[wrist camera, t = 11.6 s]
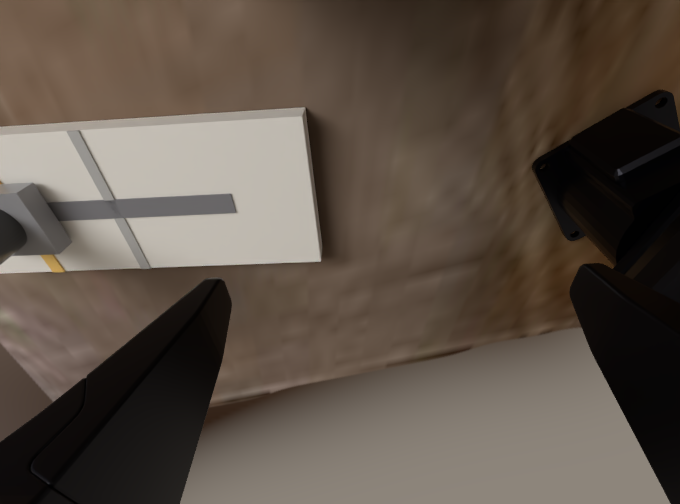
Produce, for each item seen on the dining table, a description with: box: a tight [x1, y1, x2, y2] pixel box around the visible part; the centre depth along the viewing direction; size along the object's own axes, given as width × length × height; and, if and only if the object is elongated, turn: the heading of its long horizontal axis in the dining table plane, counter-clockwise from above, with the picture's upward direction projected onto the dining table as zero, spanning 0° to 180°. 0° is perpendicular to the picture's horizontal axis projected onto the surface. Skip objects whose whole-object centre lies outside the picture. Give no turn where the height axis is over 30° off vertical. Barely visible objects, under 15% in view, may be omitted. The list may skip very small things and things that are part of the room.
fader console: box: [0, 107, 322, 273], centre depth 21 cm, size 22×9×2 cm, turn 94°
